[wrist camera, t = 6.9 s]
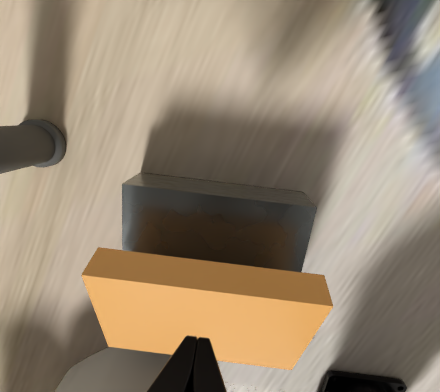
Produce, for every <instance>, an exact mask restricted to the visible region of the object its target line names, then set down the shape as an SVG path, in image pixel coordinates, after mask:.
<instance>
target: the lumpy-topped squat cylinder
mask: <svg viewBox="0 0 440 392" xmlns="http://www.w3.org/2000/svg"><path fill="white" fill-rule="evenodd" d="M171 356H172V355H170V354H162V353H154V352H146V351H138V350H130V349H123V348H115V347H109V348H106V349H104V350H102V351H99V352H97V353H95V354H93V355H91V356H89V357H87V358H85V359H84V360H82V361H81V362H79V363H77V364H76V365H74V366H73V367H71V368H70V369H69V370H68V371H67V373H66V374H65V376H64V377H63V379H62V381H61V382H60V384H59V385H58V387H57V388H56V390H55V391H54V392H147V390H148V389H149V387H150V386H151V384H152V383H153V382H154V380H155V379H156V377H157V376H158V375H159V373H160V372H161V370H162V369H163V367H164V366H165V365H166V363H167V362H168V360H169V359H170V358H171Z"/></svg>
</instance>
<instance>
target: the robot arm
mask: <svg viewBox="0 0 440 392" xmlns="http://www.w3.org/2000/svg"><path fill="white" fill-rule="evenodd" d="M406 389H407V387H406V385H405V383H404V382H403V381H402V380H400V379H393V378H385V377H377V376H369V375H361V374H354V373H346V372H338V371H330V372H328V373H327V375H326V378H325V381H324V384H323V387H322V390H321V392H405V391H406ZM147 392H227V391H226V388H225V385H224V382H223V379H222V375H221V372H220V369H219V366H218V363H217V360H216V357H215V353H214V350H213V347H212V344H211V341H210V339H209V338H206V337H198V338H197V337H196V336H190V335H187V336H186V337H185V338H184V339H183V341H182V342H181V343H180V345H179V346H178V348H177V349H176V350H175V352H174V353H173V355H172V356H171V358H170V359H169V360H168V362H167V363H166V365H165V366H164V367H163V369H162V370H161V372H160V373H159V375H158V376H157V377H156V379H155V380H154V382H153V383H152V384H151V386H150V387H149V389H148V390H147Z"/></svg>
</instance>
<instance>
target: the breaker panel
mask: <svg viewBox="0 0 440 392" xmlns="http://www.w3.org/2000/svg"><path fill="white" fill-rule="evenodd" d="M316 209H317V207H316V206H315V205H314V204H313V203H312V202H311V201H310V199H309V198H308V197H307V196H306V195H305V194H304V193H303V192H298V191H290V190H281V189H273V188H265V187H256V186H248V185H240V184H231V183H223V182H215V181H206V180H198V179H190V178H182V177H173V176H165V175H157V174H148V173H139V174H137V175H136V176H134V177H133V178H131V179H129V180H128V181H126V182H125V183H123V184H122V246H123V250H124V251H132V252H140V253H148V254H156V255H164V256H172V257H180V258H188V259H196V260H205V261H213V262H221V263H229V264H237V265H245V266H253V267H261V268H269V269H277V270H286V271H294V272H301V271H302V267H303V263H304V259H305V254H306V250H307V246H308V242H309V238H310V234H311V230H312V226H313V221H314V217H315V213H316Z"/></svg>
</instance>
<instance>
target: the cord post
mask: <svg viewBox="0 0 440 392" xmlns="http://www.w3.org/2000/svg"><path fill="white" fill-rule="evenodd" d="M65 152H66V143H65V139H64V137H63V135H62V133H61V132H60V130H59V129H58V128H57V127H56V126H55V125H53V124H52V123H50V122H48V121H45V120H27V121H24V122H22V123H20V124H19V125H18V126H0V174H1V173H5V172H9V171H13V170H17V169H21V168H25V167H29V166H36V167H48V166H51V165H55V164H57V163H59V162H60V161H61V160H62V159H63V157H64V155H65Z"/></svg>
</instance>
